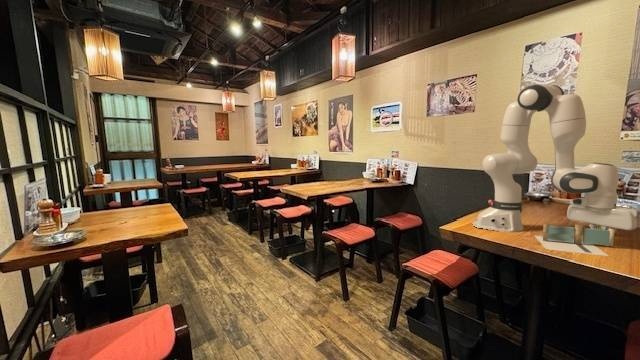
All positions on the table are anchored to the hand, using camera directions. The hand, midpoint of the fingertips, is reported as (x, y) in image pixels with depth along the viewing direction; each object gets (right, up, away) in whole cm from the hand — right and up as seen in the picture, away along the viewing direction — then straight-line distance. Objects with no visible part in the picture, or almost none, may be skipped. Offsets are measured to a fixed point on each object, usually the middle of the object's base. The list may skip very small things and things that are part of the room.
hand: (597, 235), depth 107 cm
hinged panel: (-2, -3, -2) cm, 4 cm away
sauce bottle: (+16, -3, +12) cm, 20 cm away
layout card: (-12, -5, +1) cm, 13 cm away
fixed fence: (-12, -4, +3) cm, 13 cm away
